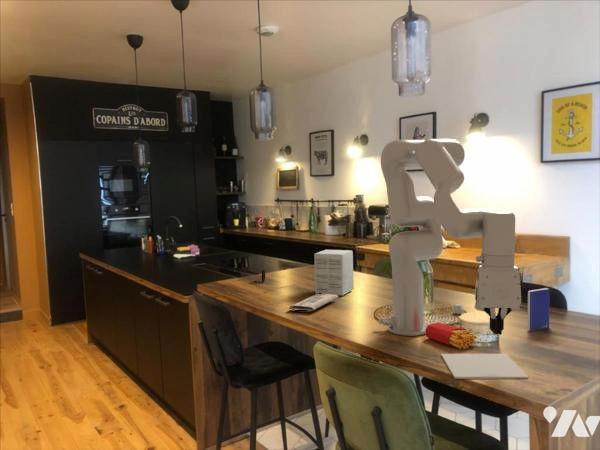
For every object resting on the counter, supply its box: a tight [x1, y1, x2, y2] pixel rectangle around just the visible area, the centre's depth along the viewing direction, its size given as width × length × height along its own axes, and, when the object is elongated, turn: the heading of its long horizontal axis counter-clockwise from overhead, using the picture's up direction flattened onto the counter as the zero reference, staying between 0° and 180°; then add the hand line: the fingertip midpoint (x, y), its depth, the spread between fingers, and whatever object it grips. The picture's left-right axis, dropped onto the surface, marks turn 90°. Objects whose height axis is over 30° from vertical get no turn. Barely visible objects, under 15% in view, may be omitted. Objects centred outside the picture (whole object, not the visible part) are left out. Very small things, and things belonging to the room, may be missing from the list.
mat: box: [440, 353, 530, 380], centre depth 127 cm, size 17×16×1 cm
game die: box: [452, 303, 464, 315], centre depth 178 cm, size 4×4×3 cm
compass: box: [248, 268, 266, 285], centre depth 239 cm, size 8×8×7 cm
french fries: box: [425, 322, 478, 350], centre depth 146 cm, size 9×4×13 cm
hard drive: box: [527, 287, 550, 332], centre depth 156 cm, size 2×8×12 cm, turn 114°
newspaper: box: [288, 293, 339, 312], centre depth 196 cm, size 23×12×2 cm, turn 151°
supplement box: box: [313, 249, 355, 296], centre depth 219 cm, size 13×13×18 cm
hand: (496, 332), depth 126 cm, fingers closed
